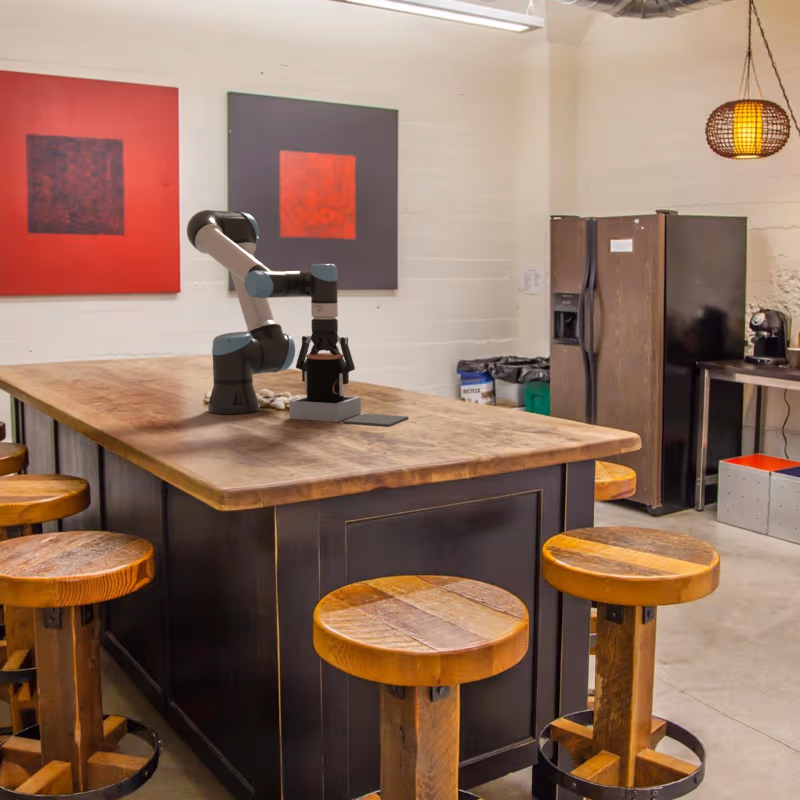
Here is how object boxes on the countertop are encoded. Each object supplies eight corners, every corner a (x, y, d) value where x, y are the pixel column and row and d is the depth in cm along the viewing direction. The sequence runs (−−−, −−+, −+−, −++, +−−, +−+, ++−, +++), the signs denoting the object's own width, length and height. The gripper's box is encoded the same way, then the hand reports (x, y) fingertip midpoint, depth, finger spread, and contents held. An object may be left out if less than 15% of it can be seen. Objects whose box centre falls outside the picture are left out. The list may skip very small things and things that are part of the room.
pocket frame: (289, 418, 263) (289, 401, 263) (314, 410, 278) (314, 394, 277) (337, 421, 258) (337, 404, 257) (360, 413, 272) (360, 397, 271)
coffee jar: (338, 419, 261) (337, 356, 259) (302, 418, 263) (301, 355, 261) (348, 413, 272) (347, 353, 269) (313, 412, 274) (312, 352, 271)
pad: (343, 423, 256) (343, 421, 255) (364, 415, 268) (364, 413, 268) (389, 426, 250) (389, 424, 250) (408, 418, 263) (408, 416, 263)
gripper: (282, 317, 264) (284, 393, 268) (355, 319, 256) (355, 398, 259) (295, 316, 271) (296, 390, 274) (366, 318, 262) (366, 394, 266)
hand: (325, 394), depth 267 cm, fingers closed on coffee jar, 11 cm apart
